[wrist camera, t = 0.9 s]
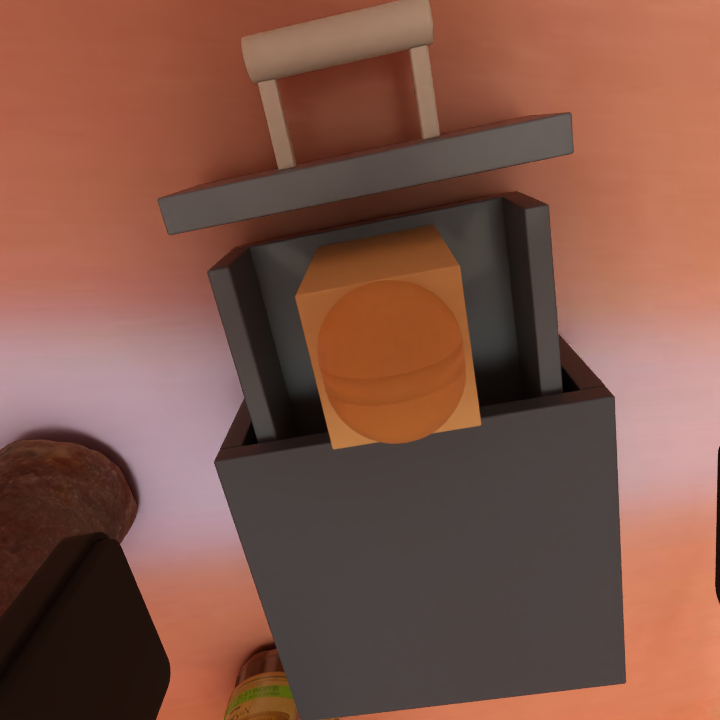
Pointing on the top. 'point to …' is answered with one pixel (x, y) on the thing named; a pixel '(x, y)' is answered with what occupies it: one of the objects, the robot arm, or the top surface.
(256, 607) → the top surface
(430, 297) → the orange container
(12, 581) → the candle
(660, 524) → the top surface
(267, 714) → the sauce bottle
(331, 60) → the drawer
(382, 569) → the cabinet
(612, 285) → the top surface
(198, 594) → the top surface
